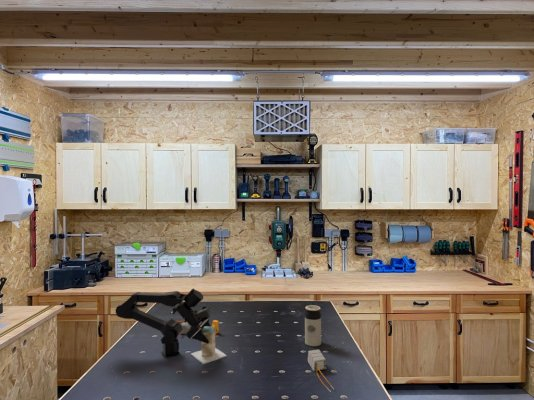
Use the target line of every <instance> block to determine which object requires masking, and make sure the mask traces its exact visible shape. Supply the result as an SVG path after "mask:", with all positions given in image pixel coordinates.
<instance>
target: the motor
mask: <svg viewBox="0 0 534 400" xmlns="http://www.w3.org/2000/svg"><path fill="white" fill-rule="evenodd" d="M178 321H179V323H180V324H181V325H182V329H183V330H182V333H181V334H180V335H182V334H183V335H187V332H188V331H189V330H190V327H191V326H190V325H189V324H188V323H187V322H186V323H185V322H184V321H185V320H178Z"/></svg>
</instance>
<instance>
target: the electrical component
mask: <svg viewBox="0 0 534 400" xmlns="http://www.w3.org/2000/svg"><path fill="white" fill-rule="evenodd" d="M307 353H308V354H307V362H308V364H309V366H310V368H311V370H312V371H313V372H314V371H316V376H317V377H318V379H319V381H320V382H321V383H322V385H323V386H324V387H325V388H326V389H327V390H328V392H331V393H332V391H331V390H330V389H329V387H328V386H326V384H325V383H324V382H323V380H322V379H321V377H320V375H319V373H320V374H321V376H322V377H323V378H324V379H325V381H326V383H328V384H329V386H330V387H331V388H332V389H333V390H335V388H334V387H333V386H332V384H331V383H330V382H329V380H328V379H327V378H326V377H325V375H324V374H323V373H322V371H321V370H324V371H325V370H327V365H328V361H326V357H324V354H323V353H322V352H321V350H320V349H312V350H308V351H307ZM318 371H319V372H318Z"/></svg>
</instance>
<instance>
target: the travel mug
mask: <svg viewBox="0 0 534 400" xmlns="http://www.w3.org/2000/svg"><path fill="white" fill-rule="evenodd" d="M321 309H322V308H321V307H320V306H318V305H315V304H314V305H313V304H310V305H306V306H305V312H304V344H305V345H307V346H309V347H319V346H321V345H322V314H321Z"/></svg>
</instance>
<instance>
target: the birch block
mask: <svg viewBox="0 0 534 400" xmlns="http://www.w3.org/2000/svg"><path fill="white" fill-rule="evenodd" d="M211 326H212V325H211ZM211 326H205V327H204V328H203V329H202V332H203V334H204V335H205V336H206V338H207V339H208V340H209V343H208V344H207V343H204V342H202V341H201V350H202V357H213V355H214V354H215V348H216V334H215V327H211Z"/></svg>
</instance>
